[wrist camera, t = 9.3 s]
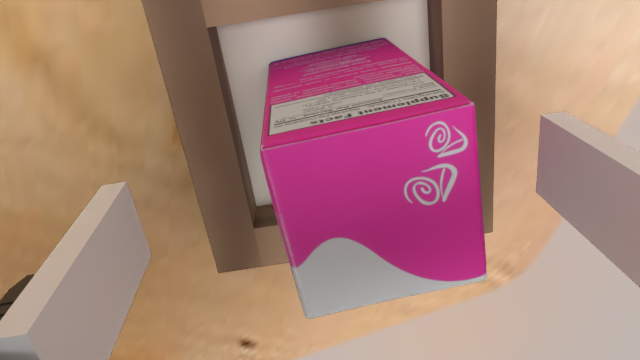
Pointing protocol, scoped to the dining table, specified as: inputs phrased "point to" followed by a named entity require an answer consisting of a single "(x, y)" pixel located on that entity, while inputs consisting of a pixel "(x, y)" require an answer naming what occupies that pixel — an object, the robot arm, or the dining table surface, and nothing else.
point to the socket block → (251, 84)
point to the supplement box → (371, 176)
